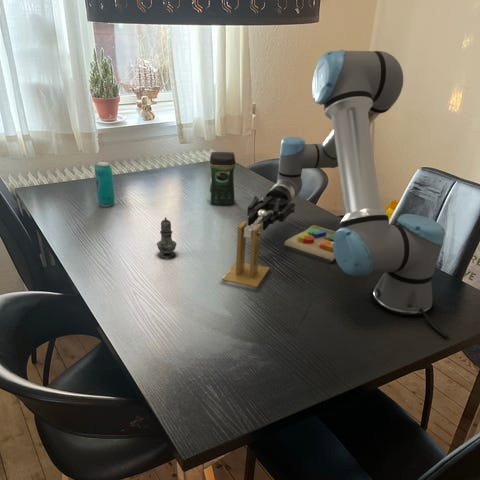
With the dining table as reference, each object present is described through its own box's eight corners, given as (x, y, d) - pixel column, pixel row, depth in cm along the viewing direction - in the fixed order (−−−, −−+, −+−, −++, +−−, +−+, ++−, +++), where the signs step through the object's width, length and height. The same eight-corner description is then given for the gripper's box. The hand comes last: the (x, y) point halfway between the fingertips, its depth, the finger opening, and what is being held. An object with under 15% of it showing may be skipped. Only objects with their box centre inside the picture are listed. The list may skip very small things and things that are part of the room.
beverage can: (98, 202, 183) (93, 161, 174) (114, 201, 184) (110, 160, 176) (99, 208, 178) (94, 166, 170) (115, 206, 180) (111, 165, 171)
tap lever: (258, 218, 145) (259, 207, 143) (270, 220, 144) (271, 209, 142) (240, 238, 133) (241, 226, 131) (253, 241, 132) (254, 228, 130)
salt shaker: (173, 260, 147) (172, 222, 141) (154, 257, 148) (152, 219, 141) (179, 251, 152) (178, 214, 145) (160, 249, 153) (159, 212, 146)
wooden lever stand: (237, 265, 147) (239, 214, 138) (269, 272, 144) (274, 220, 135) (222, 283, 137) (223, 230, 128) (256, 291, 135) (260, 237, 126)
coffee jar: (234, 198, 192) (236, 149, 182) (234, 206, 186) (236, 155, 175) (209, 197, 192) (209, 148, 181) (208, 205, 185) (209, 154, 175)
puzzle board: (357, 243, 163) (359, 233, 161) (332, 264, 150) (334, 254, 148) (309, 229, 171) (311, 220, 169) (282, 248, 158) (283, 238, 156)
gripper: (304, 212, 157) (284, 241, 138) (254, 204, 161) (228, 230, 142) (307, 189, 152) (287, 216, 134) (255, 181, 157) (229, 205, 138)
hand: (256, 223), depth 138 cm, fingers closed on tap lever, 4 cm apart
